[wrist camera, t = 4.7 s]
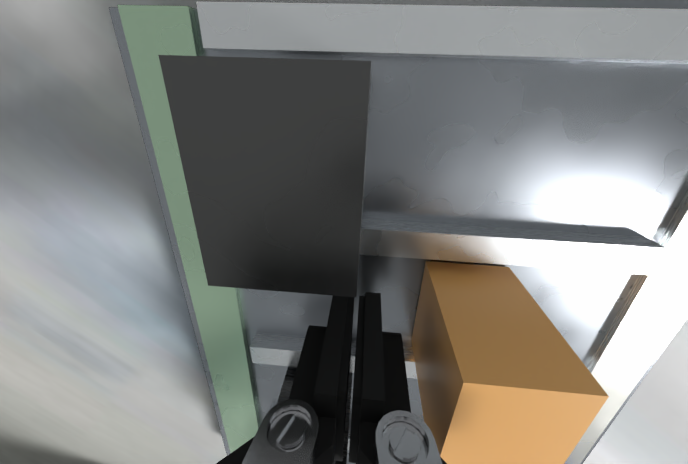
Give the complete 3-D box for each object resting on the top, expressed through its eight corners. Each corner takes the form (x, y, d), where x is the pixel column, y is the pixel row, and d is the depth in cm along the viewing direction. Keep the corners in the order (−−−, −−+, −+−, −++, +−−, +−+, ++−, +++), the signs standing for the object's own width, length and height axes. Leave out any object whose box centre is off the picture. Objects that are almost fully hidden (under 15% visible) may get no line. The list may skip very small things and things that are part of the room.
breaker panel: (793, 35, 9) (1860, -102, 2) (530, 475, 20) (604, 653, 14) (155, 21, 10) (-208, -92, 4) (243, 442, 21) (189, 591, 15)
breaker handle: (508, 267, 11) (608, 396, 6) (482, 346, 12) (545, 491, 8) (425, 261, 11) (463, 382, 6) (411, 340, 13) (433, 478, 8)
